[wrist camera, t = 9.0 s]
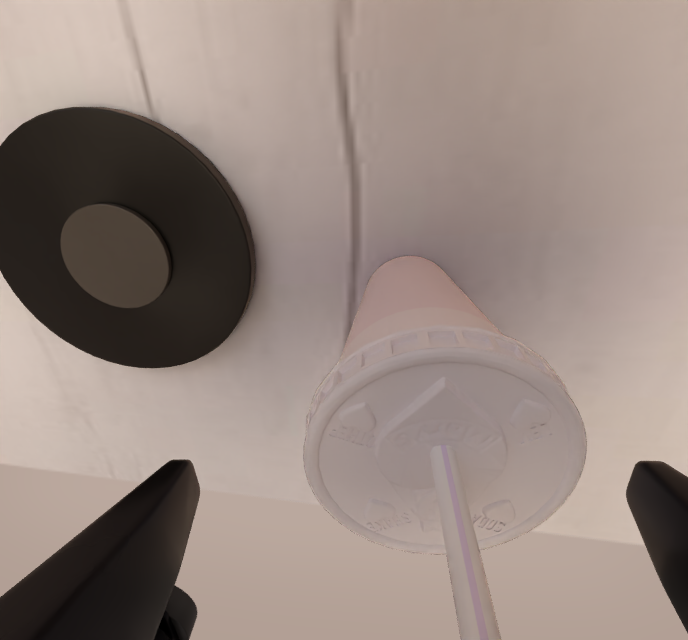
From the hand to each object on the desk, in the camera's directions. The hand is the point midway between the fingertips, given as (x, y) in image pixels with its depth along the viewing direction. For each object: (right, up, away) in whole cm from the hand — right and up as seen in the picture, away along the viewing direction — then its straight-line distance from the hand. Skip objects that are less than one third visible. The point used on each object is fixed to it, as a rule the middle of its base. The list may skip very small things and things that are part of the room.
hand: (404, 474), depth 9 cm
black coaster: (-10, +6, +9) cm, 15 cm away
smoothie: (+2, +4, +10) cm, 11 cm away
